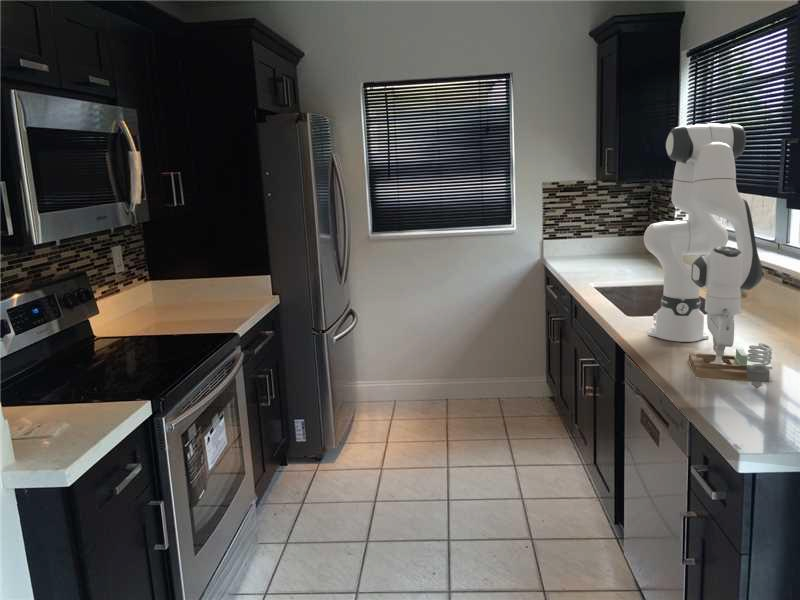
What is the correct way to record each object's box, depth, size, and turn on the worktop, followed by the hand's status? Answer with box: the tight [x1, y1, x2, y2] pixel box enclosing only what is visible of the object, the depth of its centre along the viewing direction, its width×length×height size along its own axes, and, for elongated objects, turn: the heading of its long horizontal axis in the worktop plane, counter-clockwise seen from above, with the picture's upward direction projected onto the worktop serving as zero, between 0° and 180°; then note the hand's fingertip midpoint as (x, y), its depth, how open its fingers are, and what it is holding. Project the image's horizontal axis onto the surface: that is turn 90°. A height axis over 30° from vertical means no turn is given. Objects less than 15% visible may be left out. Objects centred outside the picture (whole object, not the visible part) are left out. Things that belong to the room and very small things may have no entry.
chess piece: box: [710, 346, 726, 364], centre depth 188 cm, size 5×5×10 cm
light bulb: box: [747, 342, 773, 389], centre depth 174 cm, size 6×6×12 cm
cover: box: [733, 347, 773, 370], centre depth 187 cm, size 8×8×3 cm
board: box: [688, 352, 771, 384], centre depth 189 cm, size 16×18×3 cm
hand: (718, 353), depth 189 cm, fingers open, 3 cm apart
